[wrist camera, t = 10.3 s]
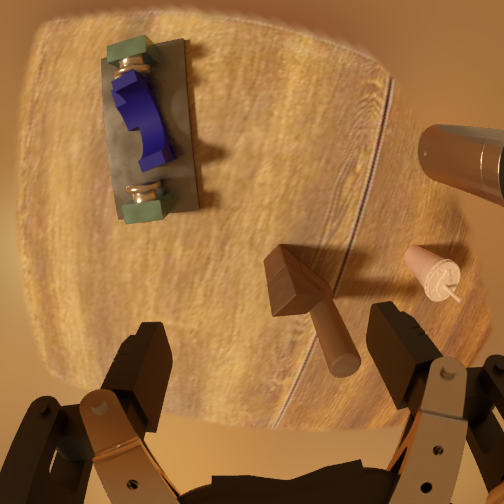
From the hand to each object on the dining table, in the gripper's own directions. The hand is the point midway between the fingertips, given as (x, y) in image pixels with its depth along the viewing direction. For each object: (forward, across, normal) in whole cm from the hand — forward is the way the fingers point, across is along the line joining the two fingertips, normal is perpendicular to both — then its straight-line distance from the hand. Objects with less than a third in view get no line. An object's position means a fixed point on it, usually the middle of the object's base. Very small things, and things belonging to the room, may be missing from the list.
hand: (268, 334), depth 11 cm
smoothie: (+30, -26, +12) cm, 42 cm away
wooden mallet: (+30, -6, +13) cm, 34 cm away
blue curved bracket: (+30, +13, -10) cm, 34 cm away
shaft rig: (+30, +13, -10) cm, 34 cm away
